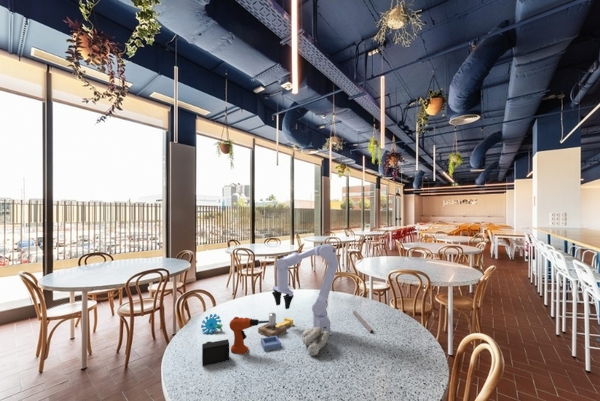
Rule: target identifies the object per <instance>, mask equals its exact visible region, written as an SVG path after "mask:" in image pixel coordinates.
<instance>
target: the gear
mask: <svg viewBox="0 0 600 401" xmlns="http://www.w3.org/2000/svg"><path fill="white" fill-rule="evenodd" d="M204 319H206V320H204ZM204 319H203V320H202V321H201V322H202V324H201V326H200V328H201V329H202V332H203V333H205V334H206V335H208V334H209V335H210V334H211V335H212V334H214V333H213V331H214V332H217V331H218V330H220V331H222V330H223V328H222V327H223V324H222V323H221V322H222V320H221V317H220V315H218V316H217V314H216V313H214V314H212V313H210V314H209V316H205V317H204Z"/></svg>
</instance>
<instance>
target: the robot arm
mask: <svg viewBox="0 0 600 401" xmlns="http://www.w3.org/2000/svg"><path fill="white" fill-rule="evenodd" d="M312 256H317V257H321V258H322V259H323V260H324V261H325V262H326V264H327V267H326V271H325V274H324V278H323V280H322V283H321V287H320V290H319V293H318V296H317V298H316V301H315V302H314V303H313V305H312V307H311V310H312V317H313V318H312V321H313V322H312V323H313V324H312V325H313V327H320V328H321V329H322V331H323V332H324V331H328V332H329V336H330V335H331V336H332V335H333V332H331V320H330V319H329V317H328V311H327V308H328V305H329V303H328V301H329V300H328V299H329V295H330V291H331V289H332V286H333V282H334V279H335V276H336V273H337V270H338V267H339V260H338V255H337V250H336V248H335V247H334V245H332V244H331V243H325V244H321V245H316V246H314V247H312V248H310V249H307V250H305V251H303V252H300V253H298V252H297V251H296V252H291V253H290V254H288V255H283V257H281V258H278V259H277V260H276V262H275V268H277V269H276V270H277V271H276V272H277V273H276V276H277V278H276V280H277V282H276V284H277V286H273V287H272V292H271V293H272V296H273V298H274V302H275V304H276V305H275V306H277V307H278V306H280V305H281V303H282V302H281V299H282V297H283V301H284V308H285V310H289V309H290V307H291V303H292V300H293V298H294V296H295V295H294V291H293V290H291V289H290V287H289V268H290V267H292V266H294V265H298V264H300V263H301V261H302V260H303V259H306V258H309V257H312ZM282 294H285V295H283V296H282Z"/></svg>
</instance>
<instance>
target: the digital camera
mask: <svg viewBox="0 0 600 401" xmlns="http://www.w3.org/2000/svg"><path fill="white" fill-rule="evenodd" d="M201 346H202V348H201V355H202V356H201V362H202V367H206V366H211V365H215V364H221V363H226V362H230V341H229V338H227V339H222V340H217V341H207V342H205V343H202V345H201Z"/></svg>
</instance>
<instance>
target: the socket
mask: <svg viewBox="0 0 600 401" xmlns="http://www.w3.org/2000/svg"><path fill="white" fill-rule="evenodd" d="M277 324H278V323H277V322H276V325H277ZM257 328H258V329H257V332H258V334H260V335H262V336H263V337H272V336H277V337H278V336H280V335H282V334H285V333H286V332H287V330H288V328H290V326H289V324H288V325H286V326H283V325H281V326H279V327H278V328H276V329H274V330H270V329H269V323H265V324H264V325H261V326H260V327H257Z"/></svg>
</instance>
